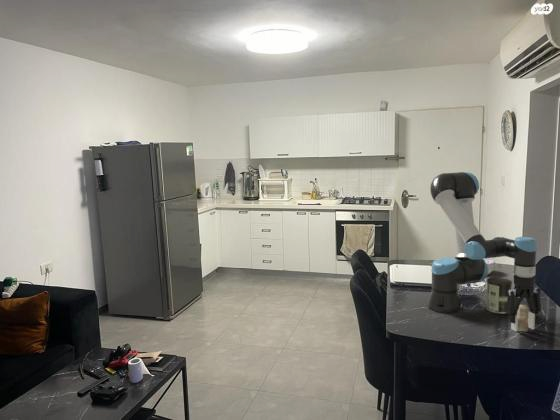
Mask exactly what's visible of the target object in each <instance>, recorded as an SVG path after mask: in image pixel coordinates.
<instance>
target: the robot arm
mask: <svg viewBox="0 0 560 420" xmlns="http://www.w3.org/2000/svg"><path fill="white" fill-rule="evenodd" d="M479 190H480V182H479V180H478V178H477V177H476V176H475V175H474V173H472V172H468V171H467V172H466V171H461V172H459V171H458V172H444V173H440V174H438V175H437V176H435V177H434V178H433V179H432V181H431V183H430V195H431V198H432V199H433V201H434V203H435V204H436V205H439V206H440V207H441V209H442V211H443V212H444V213H445V215H446V217H447V218H448V220H449V221H450V222H451V224H452V225H453V227H454V230H455V239H456V248H457V253H456V254H455V255H454V257H441V258H436V259H435V260H433V262H432V265H431V292H430V294H429V298H428V300H427V307H428V309H430V308H431V309H430V310H432V309H433V310H432V311H434V310H435V311H434V312H437V311H438V312H439V313H444V314H454V313H459V312H460V311H462V310H463V309H462V306H463V305H462V301H461V298H460V295H459V286H462V285H469V284H477V283H482V282H483V281H485V279H487V277H488V275H489V274H488V265H487V263H485V262H486V261H485V260H484V259H485V258H487V259H492V258H493V259H494V258H502V257H507V258H511V259H514V261H513V262H514V263H513V284H514V287H513V288H512V290H507V293H508V298H507V305H506V314H508V315H510V316H509V322H510V323H511V324H510V329H511V330H512V331H514V332H518V331H519V330H518V316H517V312H518V309H519V306H520V305H521V304H522V302H523V300H524V299H525V300H526V303H527V306H529V315H528V329H531V330H535V325H536V324H535V322H536V320H537V315H539V313H540V312H541V311H542V307H541V291H542V289H541V288H539V287H536V286H535V285H536V268H537V267H536V264H537V251H538V249H537V240H536V239H535V238H534V237H530V236H528V237H527V236H517V237H515V239H510V238H507V237H503V236H502V237H500V236H496V237H493V238H492V239H485V237H484V236H483V234H482V233H481V232H480V230H479V229H478V228H477V226H476V225H475V220H474V219H475V218H474V211H473V201H474V200H475V199H476V197H475V196H476V195H477V194H478V192H479Z"/></svg>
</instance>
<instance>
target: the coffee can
mask: <svg viewBox="0 0 560 420" xmlns="http://www.w3.org/2000/svg"><path fill="white" fill-rule="evenodd" d="M512 285H513V281H512V280H510V279H507V278H504V277H489V278H486V310H487V311H489V312H491V313H495V314H500V315H501V314H504V315H505V314H507V313H506V305H507V298H508V293H507V290H513V288H512Z"/></svg>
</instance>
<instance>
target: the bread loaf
mask: <svg viewBox="0 0 560 420" xmlns="http://www.w3.org/2000/svg"><path fill="white" fill-rule="evenodd" d="M529 312H530V309H529V306H528V304H527V305H526V304H520V306H519V309H518V312H517V314H516V315H517V316H518V331H520V332H528V331H529V327H528V315H529Z"/></svg>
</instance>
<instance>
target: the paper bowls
mask: <svg viewBox="0 0 560 420" xmlns="http://www.w3.org/2000/svg"><path fill="white" fill-rule="evenodd" d="M484 260H485V261H486V262H485V263H487V265H488V275H490V274H491V273H492V271H495V270H496V261H495V260H494V259H492V258H485V259H484Z"/></svg>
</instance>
